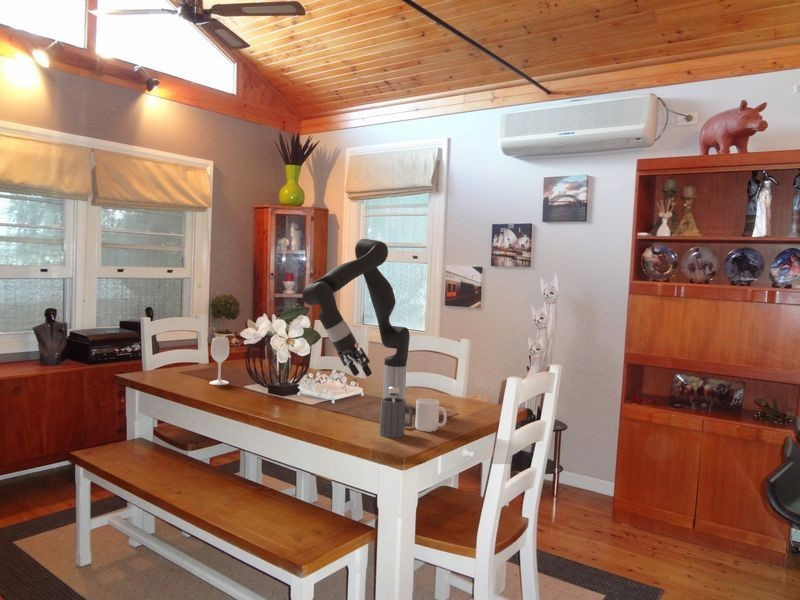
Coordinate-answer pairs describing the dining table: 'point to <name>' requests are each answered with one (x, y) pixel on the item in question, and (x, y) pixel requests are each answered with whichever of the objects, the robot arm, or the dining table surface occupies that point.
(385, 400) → the gray tankard
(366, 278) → the robot arm
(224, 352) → the wineglass
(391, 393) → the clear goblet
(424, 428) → the cup
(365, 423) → the dining table surface
